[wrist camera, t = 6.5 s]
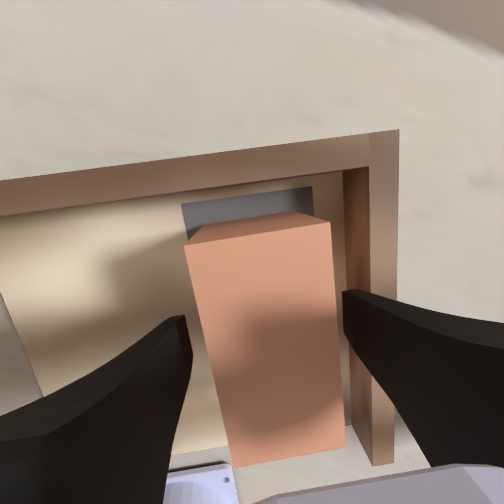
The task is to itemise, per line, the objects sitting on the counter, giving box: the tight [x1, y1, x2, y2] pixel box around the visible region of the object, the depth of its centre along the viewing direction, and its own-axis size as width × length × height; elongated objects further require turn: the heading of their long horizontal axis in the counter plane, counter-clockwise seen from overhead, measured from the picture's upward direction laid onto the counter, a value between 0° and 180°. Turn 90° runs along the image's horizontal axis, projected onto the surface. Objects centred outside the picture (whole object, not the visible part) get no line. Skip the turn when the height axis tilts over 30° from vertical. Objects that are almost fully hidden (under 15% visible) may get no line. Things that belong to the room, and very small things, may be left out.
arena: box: [0, 129, 399, 466], centre depth 13 cm, size 17×19×4 cm
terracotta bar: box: [184, 210, 346, 468], centre depth 11 cm, size 9×4×5 cm, turn 9°
